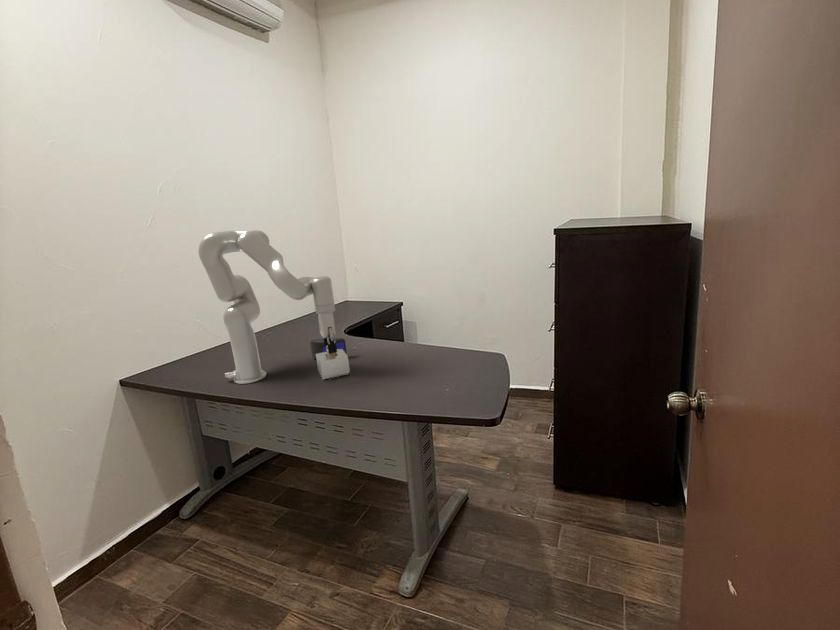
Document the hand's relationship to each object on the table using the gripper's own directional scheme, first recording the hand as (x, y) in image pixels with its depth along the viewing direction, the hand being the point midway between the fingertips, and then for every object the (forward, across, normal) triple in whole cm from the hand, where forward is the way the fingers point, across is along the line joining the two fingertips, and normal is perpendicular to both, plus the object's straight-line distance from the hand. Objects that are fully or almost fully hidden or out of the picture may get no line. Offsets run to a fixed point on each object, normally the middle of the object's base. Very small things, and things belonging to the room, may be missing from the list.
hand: (330, 349), depth 167 cm
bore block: (+10, 0, 0) cm, 10 cm away
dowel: (+10, 0, 0) cm, 10 cm away
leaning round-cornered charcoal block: (+11, -20, +2) cm, 23 cm away
